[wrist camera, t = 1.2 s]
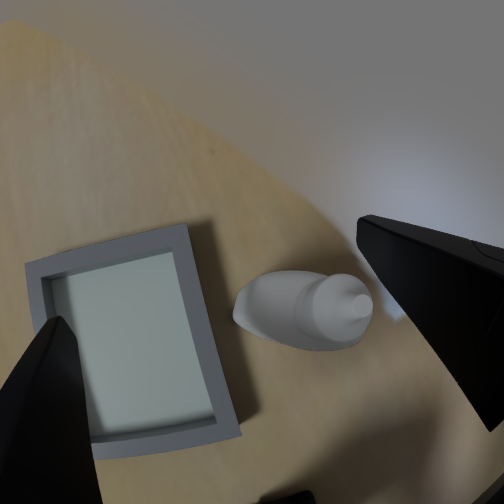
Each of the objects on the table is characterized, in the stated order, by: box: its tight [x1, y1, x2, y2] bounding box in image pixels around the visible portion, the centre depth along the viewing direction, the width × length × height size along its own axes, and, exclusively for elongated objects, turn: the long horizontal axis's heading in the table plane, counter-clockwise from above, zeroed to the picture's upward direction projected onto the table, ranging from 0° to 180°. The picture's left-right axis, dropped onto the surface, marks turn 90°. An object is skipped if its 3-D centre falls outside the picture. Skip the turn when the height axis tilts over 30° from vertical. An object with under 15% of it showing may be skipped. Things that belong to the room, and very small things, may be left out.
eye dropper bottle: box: [233, 270, 373, 351], centre depth 15 cm, size 4×6×12 cm
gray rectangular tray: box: [25, 223, 242, 460], centre depth 18 cm, size 13×11×2 cm
